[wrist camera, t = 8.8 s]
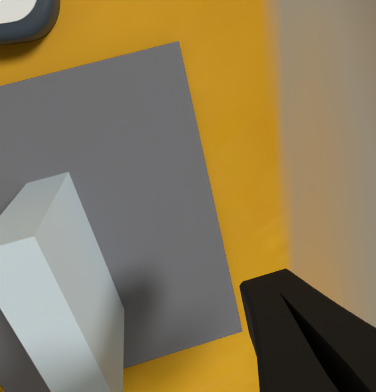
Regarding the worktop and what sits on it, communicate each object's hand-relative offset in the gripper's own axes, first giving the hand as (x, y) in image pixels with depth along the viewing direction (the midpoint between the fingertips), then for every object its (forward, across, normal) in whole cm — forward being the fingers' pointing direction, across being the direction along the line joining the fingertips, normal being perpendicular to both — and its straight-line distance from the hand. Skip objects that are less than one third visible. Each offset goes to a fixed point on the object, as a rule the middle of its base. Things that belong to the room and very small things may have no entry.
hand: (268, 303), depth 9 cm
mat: (+6, +6, 0) cm, 9 cm away
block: (+6, +6, 0) cm, 8 cm away
